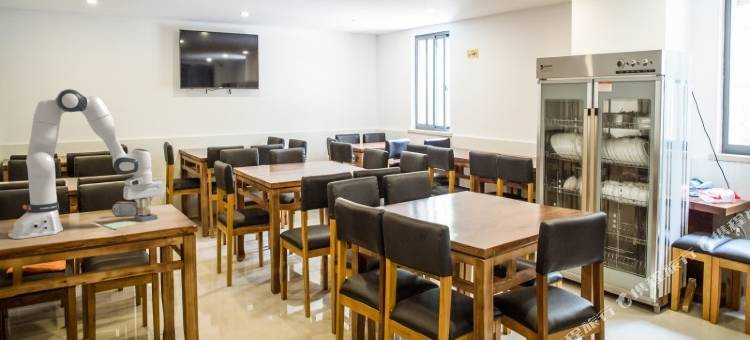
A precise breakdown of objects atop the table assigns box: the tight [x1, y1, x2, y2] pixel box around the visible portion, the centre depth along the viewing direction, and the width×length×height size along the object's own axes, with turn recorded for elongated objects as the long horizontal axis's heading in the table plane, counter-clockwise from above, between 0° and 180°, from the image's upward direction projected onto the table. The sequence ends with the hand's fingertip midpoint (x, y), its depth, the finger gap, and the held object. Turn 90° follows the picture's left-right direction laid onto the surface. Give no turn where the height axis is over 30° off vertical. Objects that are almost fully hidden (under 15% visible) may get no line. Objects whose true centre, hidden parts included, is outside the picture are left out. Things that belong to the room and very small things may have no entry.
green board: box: [102, 220, 137, 231], centre depth 276 cm, size 12×12×1 cm
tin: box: [111, 201, 140, 217], centre depth 297 cm, size 15×3×8 cm, turn 84°
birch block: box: [139, 197, 152, 215], centre depth 287 cm, size 4×4×8 cm
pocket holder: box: [131, 213, 160, 223], centre depth 288 cm, size 10×10×3 cm
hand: (144, 206), depth 287 cm, fingers closed on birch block, 4 cm apart
